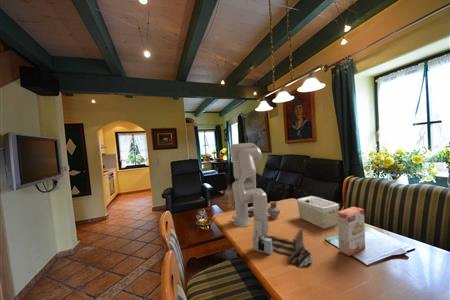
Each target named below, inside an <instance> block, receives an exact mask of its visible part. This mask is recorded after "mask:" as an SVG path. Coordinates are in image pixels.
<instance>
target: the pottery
mask: <svg viewBox="0 0 450 300" xmlns="http://www.w3.org/2000/svg"><path fill="white" fill-rule="evenodd" d="M269 204H270V206H269ZM269 204H267V209H268V215H270V219H272V220H273V219H274V220H276V219H279V215H280V213H281V208H280V207H278V206H277V204H278V203H277V201H270V202H269Z"/></svg>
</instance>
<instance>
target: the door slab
mask: <svg viewBox="0 0 450 300" xmlns="http://www.w3.org/2000/svg"><path fill="white" fill-rule="evenodd" d="M259 240H261V239H259ZM263 243H264V251H261V250H259V249H258V242H256V238H254V235H253V236H252V248H253V249H252V250H253V251H257V252H259V253H264V254H267V255H271V256H272V254H273V252H274V251H273V246H272V239H270V238H266V237H264V238H263Z"/></svg>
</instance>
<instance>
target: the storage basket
mask: <svg viewBox="0 0 450 300" xmlns="http://www.w3.org/2000/svg"><path fill="white" fill-rule="evenodd" d="M307 201H308V202H307ZM296 203H297V209H298V215H299V218H300V219H301V220H304V221H306V222H309V223H310V224H312V225H314V226H317V227H319V228H321V229H328V228H332V227H335V226H338V212H339V211H340V210H339V209H340V207H341V206H340V204H339V203H336V202H334V201H331V200H327V199H324V198H321V197H318V196H313V195H310V196H305V197H301V198H297V199H296Z"/></svg>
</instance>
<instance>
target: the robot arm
mask: <svg viewBox="0 0 450 300" xmlns="http://www.w3.org/2000/svg"><path fill="white" fill-rule="evenodd" d="M229 153H230V154H229V155H230V156H231V159H232V166H233V169H232V170H233V177H234V179H236V181H234V182H232V185H231V189H232V192H233V199H234V211H235V214H234V215H232V216H231V220H233V224H234V226H237V227H240V228H241V227H248V226H250V225H251V223H252V222H251V220H250V219H249V206H248V205H249V204H251V203H252V207H253V236H254V238H256V242H258V249H259V250H261V251H264V243H263V238H264V237H266V238H267V235H268V233H269V230H270V228H269V220H268V219H269V216H268V215H269V213H268V207H267V205H268V195H267V193H266V192H265V191H264V190H263V189H262V188H259V187H258V188H257V180H256V176H257V175H256V173H257V169H256V165H255V162H259V161H261V160H262V158H263V155H262V154H263V153H262V152H261V149H260V148H259V147H258V146H257V145H256V144H255V143H253V142H245V143H242V142H241V143H233V144H231V145H230V146H229ZM259 239H261V240H259Z"/></svg>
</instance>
